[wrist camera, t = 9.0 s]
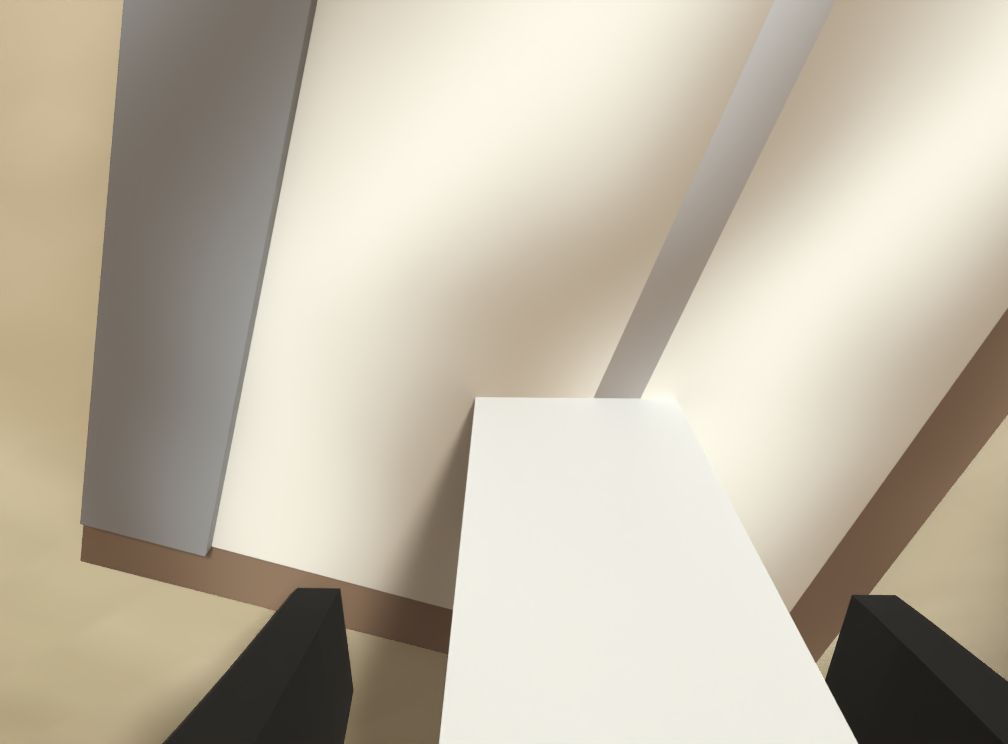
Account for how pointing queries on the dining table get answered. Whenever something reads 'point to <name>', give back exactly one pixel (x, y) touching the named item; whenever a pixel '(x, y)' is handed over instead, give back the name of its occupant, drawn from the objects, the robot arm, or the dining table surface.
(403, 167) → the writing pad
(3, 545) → the dining table surface
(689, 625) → the long rectangular beam
